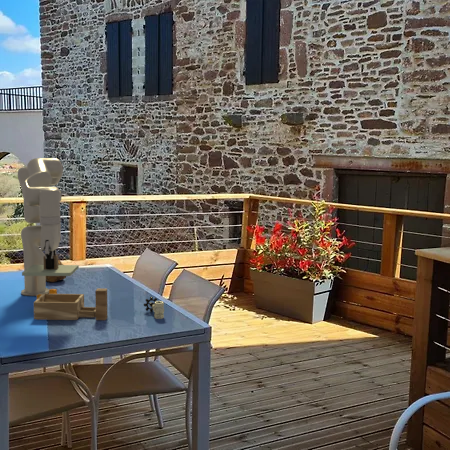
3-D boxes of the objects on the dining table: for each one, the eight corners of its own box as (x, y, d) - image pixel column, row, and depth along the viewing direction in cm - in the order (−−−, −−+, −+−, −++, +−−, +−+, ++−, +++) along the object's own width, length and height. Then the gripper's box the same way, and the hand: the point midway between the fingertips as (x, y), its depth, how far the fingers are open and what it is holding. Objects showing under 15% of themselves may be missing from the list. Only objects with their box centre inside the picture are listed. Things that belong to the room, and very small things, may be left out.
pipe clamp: (48, 302, 268) (47, 288, 267) (57, 303, 267) (56, 289, 266) (33, 309, 256) (32, 295, 255) (42, 310, 255) (42, 295, 254)
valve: (168, 318, 247) (158, 310, 258) (168, 302, 246) (158, 295, 257) (153, 320, 245) (143, 312, 255) (153, 304, 244) (143, 297, 254)
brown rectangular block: (97, 317, 247) (97, 288, 245) (107, 317, 247) (107, 288, 245) (95, 320, 243) (95, 290, 241) (105, 320, 243) (105, 290, 241)
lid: (33, 267, 243) (32, 252, 242) (78, 268, 244) (78, 252, 243) (22, 275, 228) (21, 259, 227) (70, 276, 229) (70, 259, 228)
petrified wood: (70, 280, 307) (65, 262, 305) (44, 288, 302) (40, 270, 299) (61, 272, 324) (57, 254, 322) (37, 279, 319) (32, 261, 316)
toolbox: (43, 309, 256) (43, 293, 255) (99, 310, 257) (99, 294, 256) (34, 319, 242) (33, 302, 241) (93, 320, 243) (93, 303, 242)
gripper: (45, 218, 241) (46, 263, 244) (34, 223, 225) (35, 272, 227) (64, 218, 241) (65, 264, 244) (54, 223, 225) (55, 272, 228)
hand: (51, 267), depth 236 cm, fingers closed on lid, 2 cm apart
